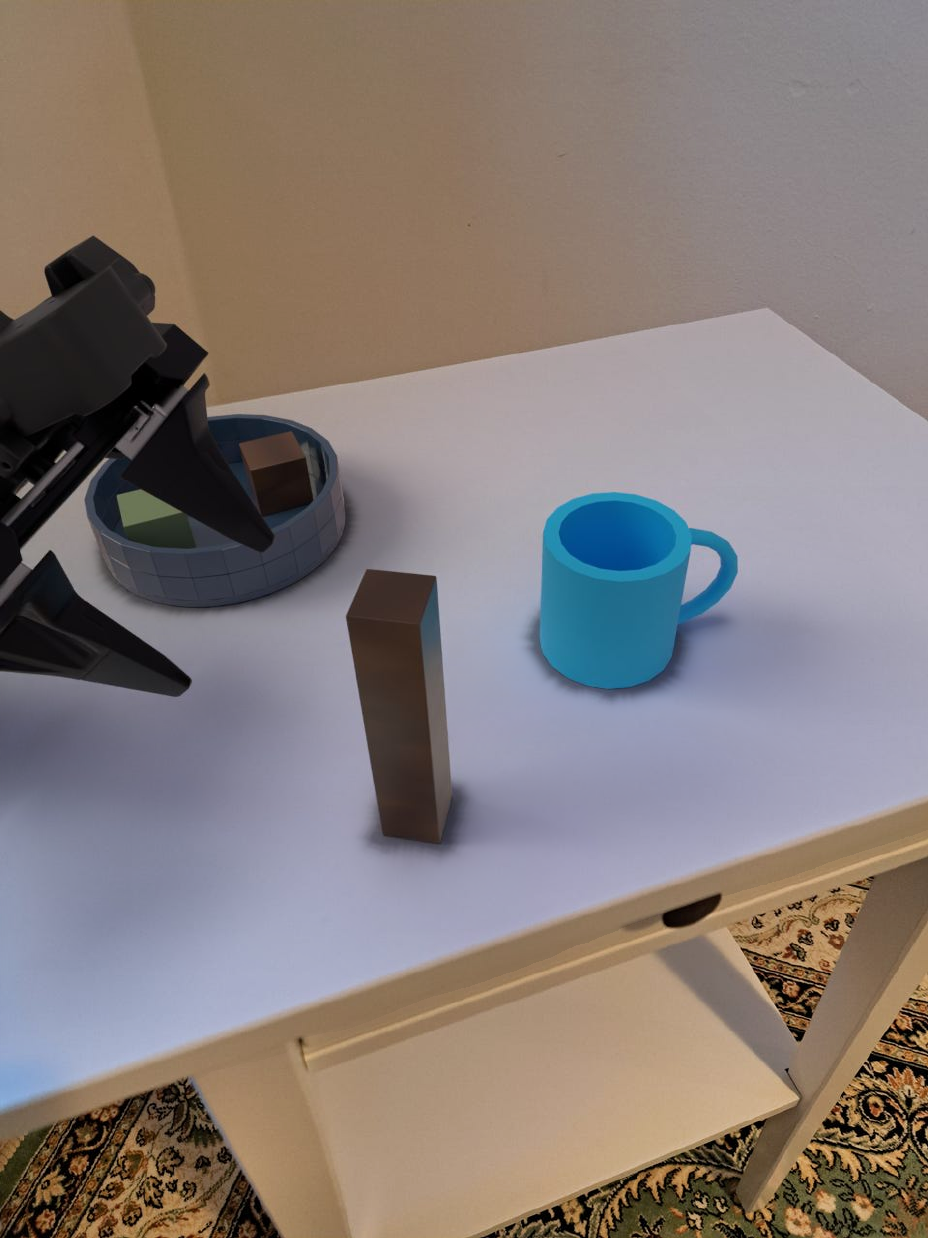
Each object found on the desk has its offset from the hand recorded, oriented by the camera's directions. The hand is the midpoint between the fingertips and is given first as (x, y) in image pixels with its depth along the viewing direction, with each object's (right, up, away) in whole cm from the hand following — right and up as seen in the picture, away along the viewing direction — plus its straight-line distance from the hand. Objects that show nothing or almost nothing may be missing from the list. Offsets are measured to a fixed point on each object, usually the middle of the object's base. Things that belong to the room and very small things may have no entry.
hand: (231, 611), depth 38 cm
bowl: (-7, +6, +27) cm, 28 cm away
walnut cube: (-4, +9, +28) cm, 30 cm away
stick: (+8, -10, +8) cm, 15 cm away
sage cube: (-11, +4, +24) cm, 27 cm away
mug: (+21, -1, +17) cm, 27 cm away
